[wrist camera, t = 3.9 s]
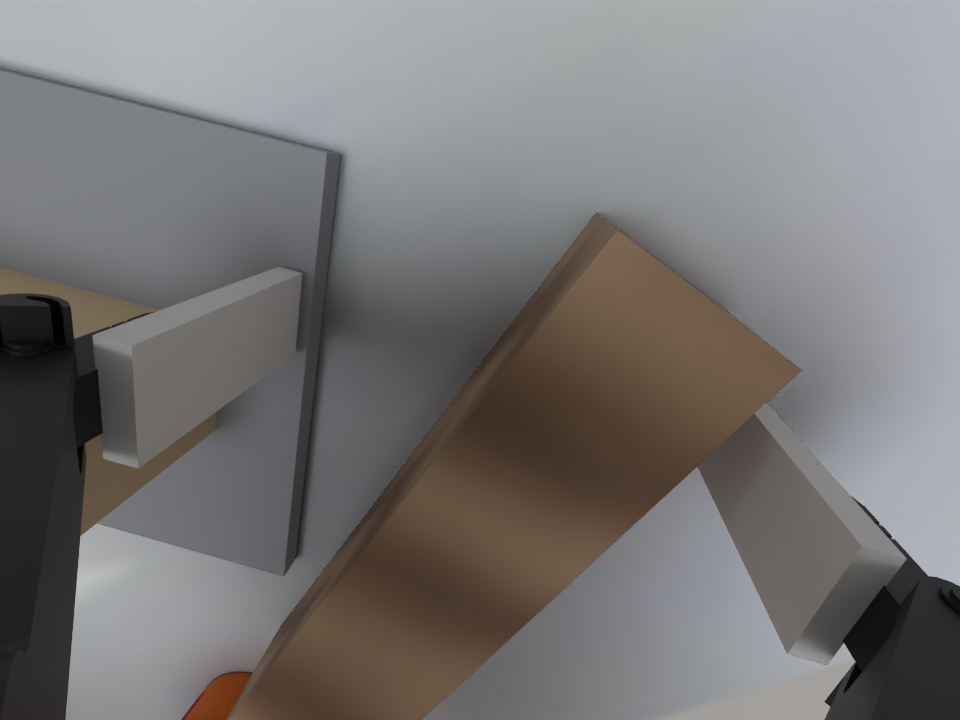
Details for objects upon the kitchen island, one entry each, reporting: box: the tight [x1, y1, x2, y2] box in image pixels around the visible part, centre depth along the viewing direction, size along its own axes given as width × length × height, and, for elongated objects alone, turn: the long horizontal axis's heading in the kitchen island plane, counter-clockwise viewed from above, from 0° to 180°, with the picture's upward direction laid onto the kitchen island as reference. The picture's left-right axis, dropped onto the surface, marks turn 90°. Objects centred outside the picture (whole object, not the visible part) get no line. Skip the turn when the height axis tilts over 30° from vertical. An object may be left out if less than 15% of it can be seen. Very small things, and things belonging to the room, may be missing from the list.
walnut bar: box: [226, 213, 801, 720], centre depth 17 cm, size 22×5×5 cm, turn 145°
